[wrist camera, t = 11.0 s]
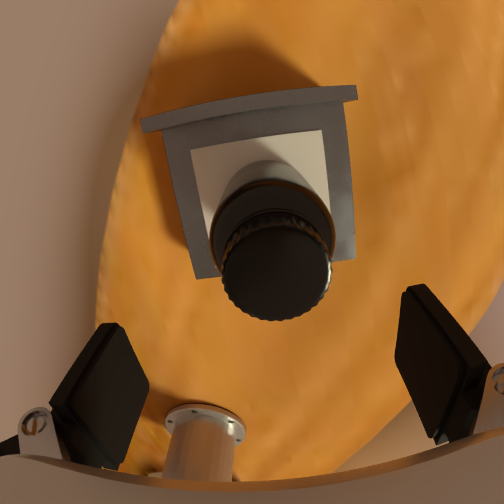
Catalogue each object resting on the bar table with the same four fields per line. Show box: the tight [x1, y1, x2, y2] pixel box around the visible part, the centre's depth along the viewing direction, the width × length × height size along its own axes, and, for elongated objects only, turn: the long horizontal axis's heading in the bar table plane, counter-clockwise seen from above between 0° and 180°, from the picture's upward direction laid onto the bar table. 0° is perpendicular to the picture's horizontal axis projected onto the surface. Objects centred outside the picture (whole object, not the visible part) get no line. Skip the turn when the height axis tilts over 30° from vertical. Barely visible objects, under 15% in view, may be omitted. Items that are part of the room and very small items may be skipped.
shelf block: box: [140, 85, 358, 279], centre depth 24 cm, size 14×14×8 cm
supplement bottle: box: [209, 160, 336, 321], centre depth 18 cm, size 7×7×12 cm
